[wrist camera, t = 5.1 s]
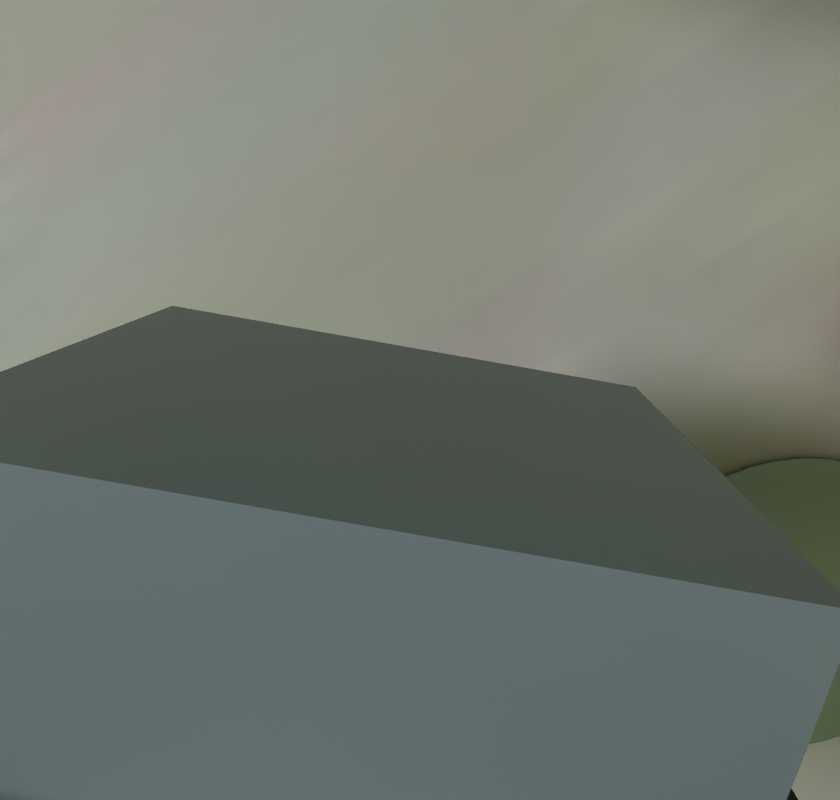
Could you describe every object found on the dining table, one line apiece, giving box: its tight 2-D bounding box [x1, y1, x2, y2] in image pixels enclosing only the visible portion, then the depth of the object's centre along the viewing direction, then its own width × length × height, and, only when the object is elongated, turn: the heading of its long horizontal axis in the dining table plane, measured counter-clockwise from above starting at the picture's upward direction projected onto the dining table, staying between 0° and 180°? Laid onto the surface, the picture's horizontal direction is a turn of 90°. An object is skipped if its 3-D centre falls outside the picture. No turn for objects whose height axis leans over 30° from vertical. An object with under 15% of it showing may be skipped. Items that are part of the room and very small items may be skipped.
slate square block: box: [0, 306, 840, 800], centre depth 13 cm, size 10×10×9 cm
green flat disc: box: [725, 458, 840, 744], centre depth 31 cm, size 14×14×1 cm
